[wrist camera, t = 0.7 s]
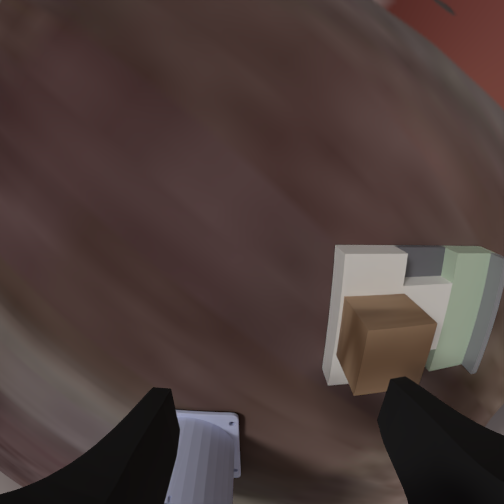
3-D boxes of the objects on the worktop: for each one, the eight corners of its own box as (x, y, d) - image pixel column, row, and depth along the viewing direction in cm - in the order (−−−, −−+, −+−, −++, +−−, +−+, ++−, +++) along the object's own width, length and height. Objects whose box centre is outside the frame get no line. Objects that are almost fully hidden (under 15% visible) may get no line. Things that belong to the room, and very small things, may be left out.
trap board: (454, 350, 21) (476, 372, 17) (322, 368, 21) (332, 400, 17) (479, 246, 18) (509, 259, 15) (335, 244, 18) (353, 261, 15)
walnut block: (392, 349, 18) (418, 385, 14) (336, 355, 18) (353, 395, 14) (404, 293, 17) (437, 323, 13) (344, 296, 17) (368, 330, 13)
